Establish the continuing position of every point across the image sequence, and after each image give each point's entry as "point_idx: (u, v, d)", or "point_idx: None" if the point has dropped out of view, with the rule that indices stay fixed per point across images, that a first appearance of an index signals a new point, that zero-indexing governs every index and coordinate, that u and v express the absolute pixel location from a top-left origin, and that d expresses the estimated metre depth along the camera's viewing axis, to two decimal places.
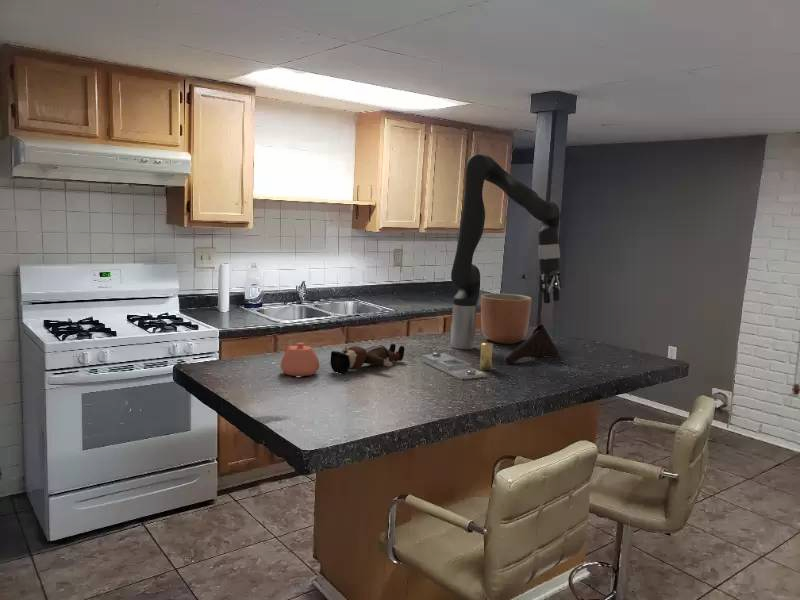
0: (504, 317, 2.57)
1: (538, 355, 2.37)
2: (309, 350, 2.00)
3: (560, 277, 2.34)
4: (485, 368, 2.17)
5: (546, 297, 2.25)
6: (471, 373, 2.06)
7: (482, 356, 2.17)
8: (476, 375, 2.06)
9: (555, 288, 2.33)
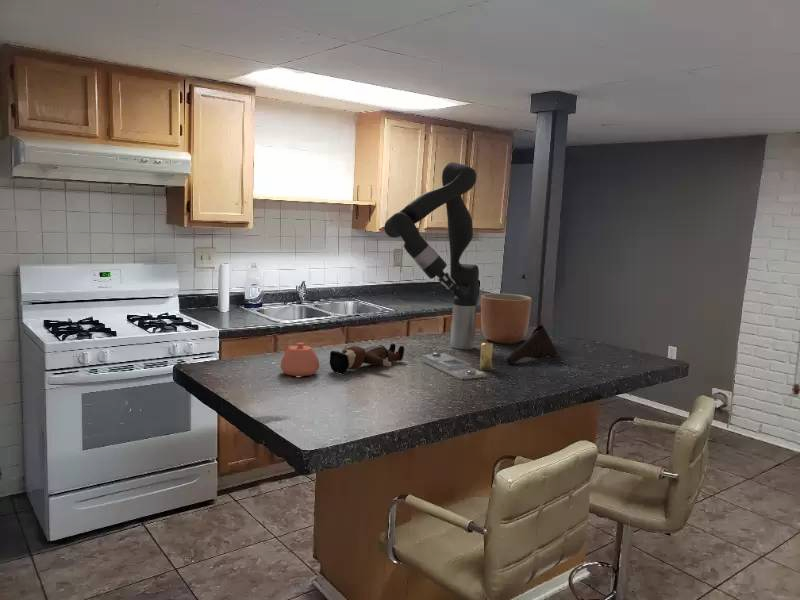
0: (504, 317, 2.57)
1: (538, 355, 2.36)
2: (309, 350, 2.00)
3: (444, 283, 2.08)
4: (485, 368, 2.17)
5: None
6: (471, 373, 2.06)
7: (482, 356, 2.17)
8: (476, 375, 2.06)
9: None
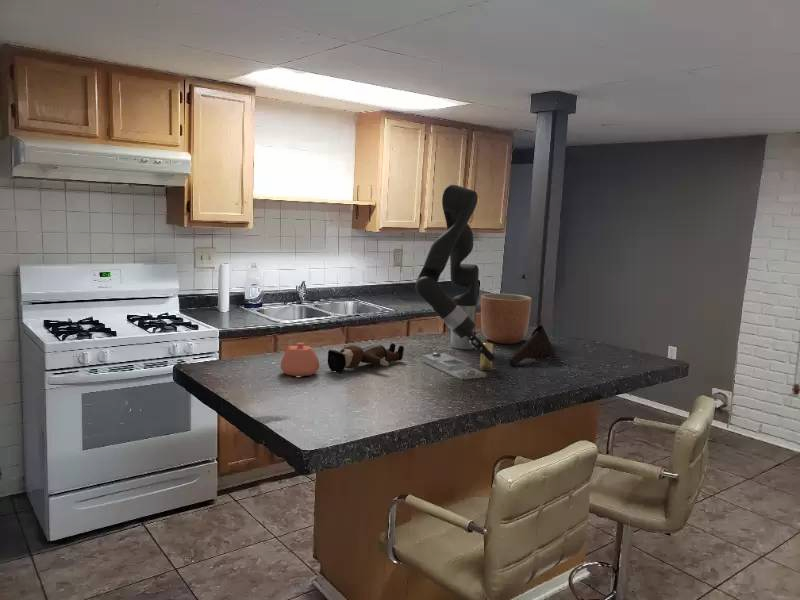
0: (504, 317, 2.57)
1: (538, 356, 2.35)
2: (309, 350, 2.00)
3: (474, 346, 2.12)
4: (485, 368, 2.17)
5: None
6: (471, 373, 2.06)
7: (482, 356, 2.17)
8: (476, 375, 2.06)
9: None
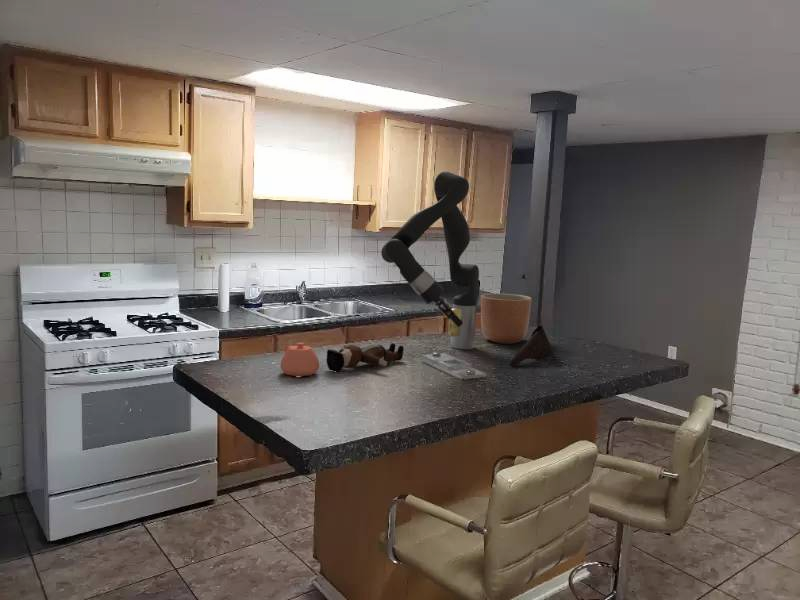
0: (504, 317, 2.57)
1: (538, 356, 2.34)
2: (309, 350, 2.00)
3: (442, 311, 2.09)
4: (453, 334, 2.13)
5: None
6: (471, 373, 2.06)
7: (450, 322, 2.13)
8: (476, 375, 2.06)
9: None
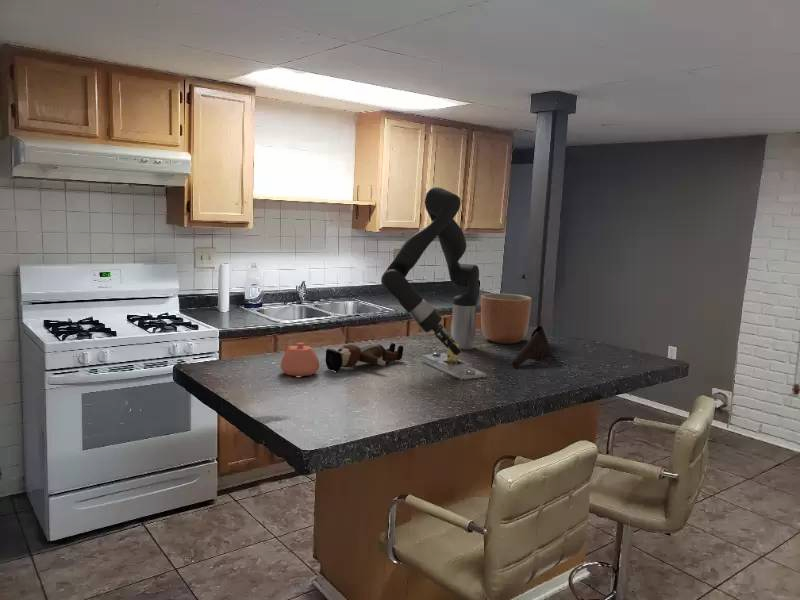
0: (504, 317, 2.57)
1: (538, 357, 2.34)
2: (309, 350, 2.00)
3: (439, 339, 2.10)
4: None
5: None
6: (471, 373, 2.06)
7: (448, 356, 2.15)
8: (476, 375, 2.06)
9: None
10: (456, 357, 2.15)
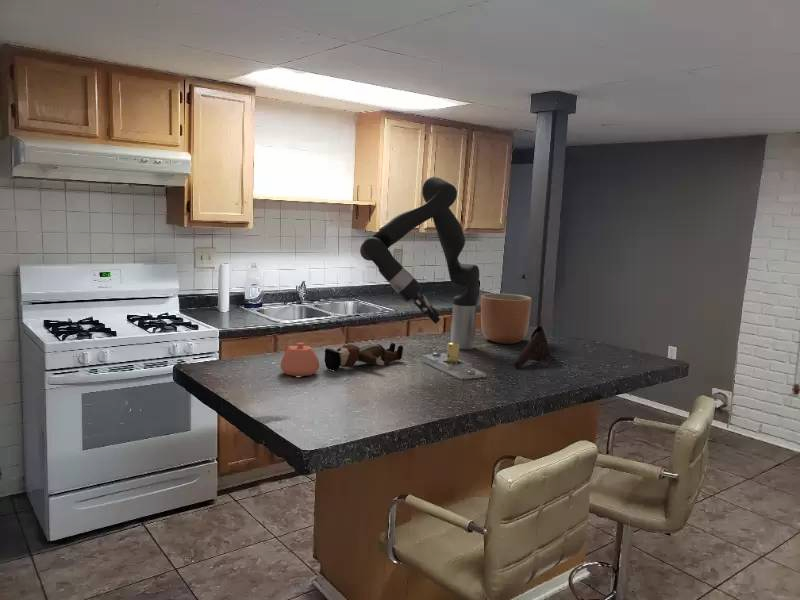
0: (504, 317, 2.57)
1: (538, 357, 2.33)
2: (309, 350, 2.00)
3: (418, 306, 2.08)
4: None
5: None
6: (471, 373, 2.06)
7: (448, 356, 2.15)
8: (476, 375, 2.06)
9: None
10: (456, 357, 2.15)
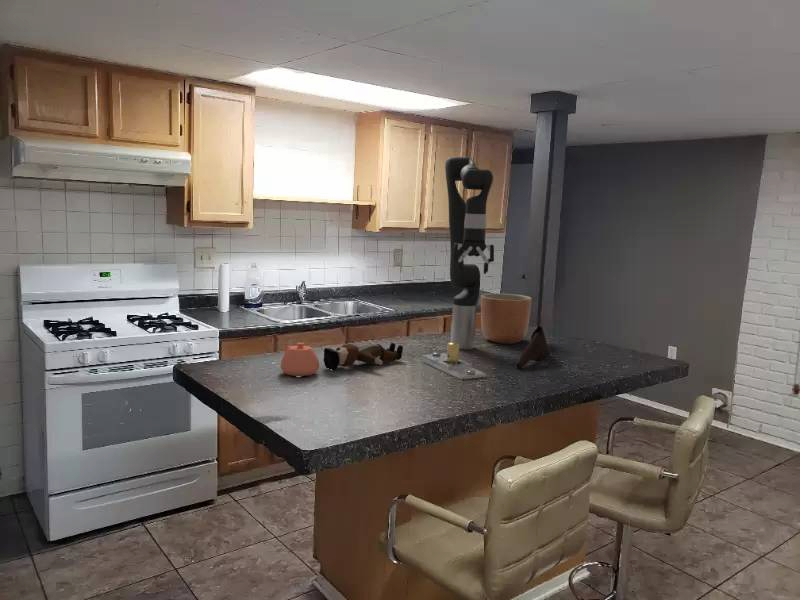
0: (504, 317, 2.57)
1: (538, 358, 2.32)
2: (309, 350, 2.00)
3: (492, 250, 2.21)
4: None
5: (457, 266, 2.23)
6: (471, 373, 2.06)
7: (448, 356, 2.15)
8: (476, 375, 2.06)
9: None
10: (456, 357, 2.15)
